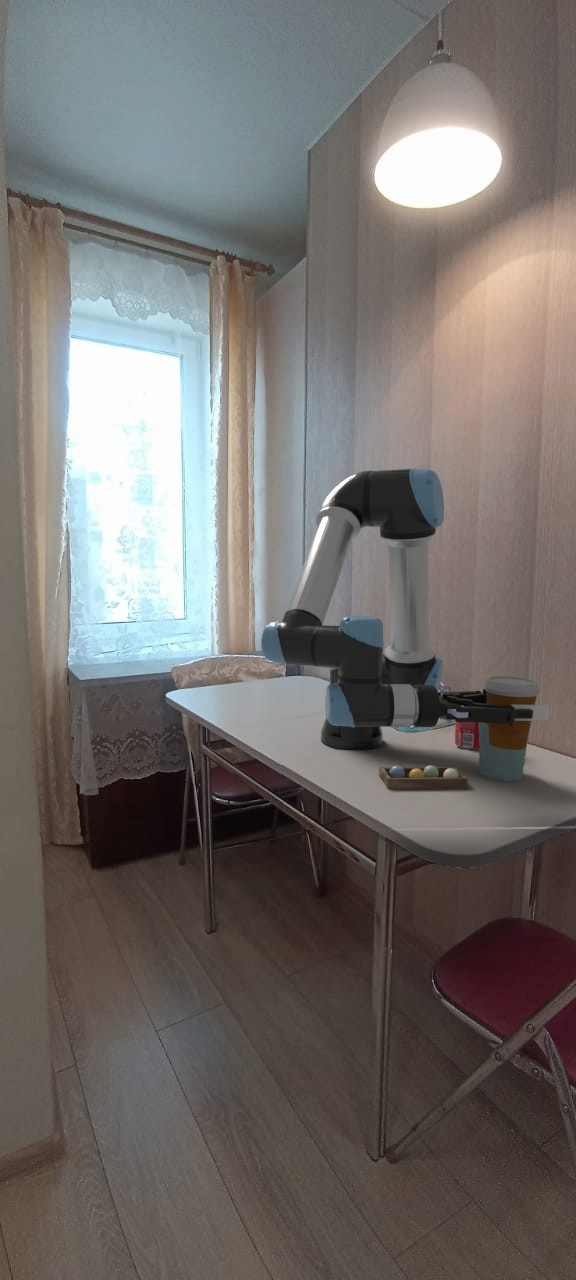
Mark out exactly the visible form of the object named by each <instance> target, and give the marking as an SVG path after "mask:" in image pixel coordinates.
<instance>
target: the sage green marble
mask: <svg viewBox="0 0 576 1280" xmlns="http://www.w3.org/2000/svg"><path fill="white" fill-rule="evenodd" d="M424 767H425V769H424V772H423V773H424V776H425V778H437V777H438V775H439V772H438V769H437V768H436V767H437V766H434V765H432V764H431V765H430V764H429V765H427V766H424Z"/></svg>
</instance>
